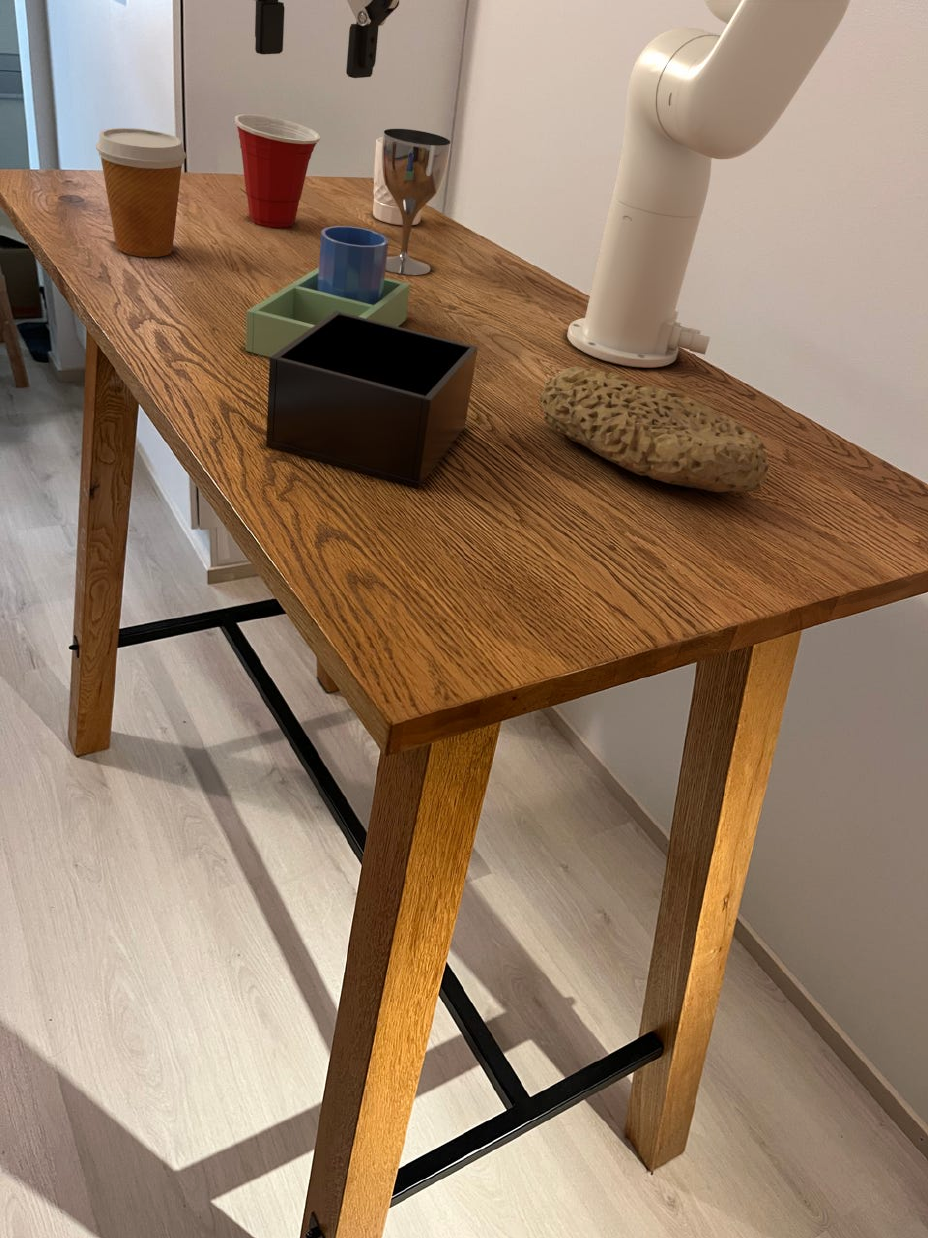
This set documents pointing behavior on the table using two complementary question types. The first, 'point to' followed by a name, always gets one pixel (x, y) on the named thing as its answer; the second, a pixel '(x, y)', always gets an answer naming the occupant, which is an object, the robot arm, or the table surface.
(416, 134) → the wine glass
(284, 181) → the plastic cup
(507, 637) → the table surface
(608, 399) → the sponge
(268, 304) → the green divided tray
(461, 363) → the open box
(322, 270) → the blue cup
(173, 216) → the disposable coffee cup
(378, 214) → the white cup
